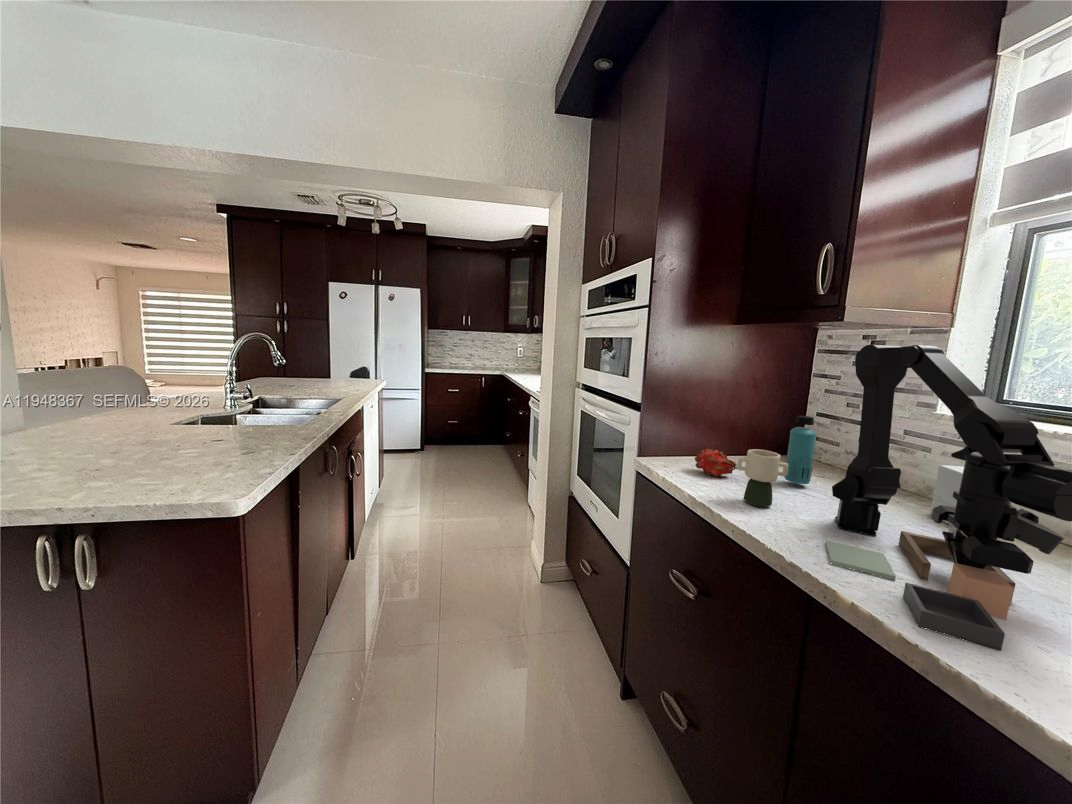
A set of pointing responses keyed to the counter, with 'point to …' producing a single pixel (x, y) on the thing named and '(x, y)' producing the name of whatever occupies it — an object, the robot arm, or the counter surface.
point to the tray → (953, 616)
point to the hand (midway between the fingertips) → (964, 583)
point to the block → (982, 588)
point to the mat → (859, 559)
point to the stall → (918, 544)
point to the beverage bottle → (801, 452)
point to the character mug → (761, 475)
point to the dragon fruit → (714, 463)
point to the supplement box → (947, 486)
